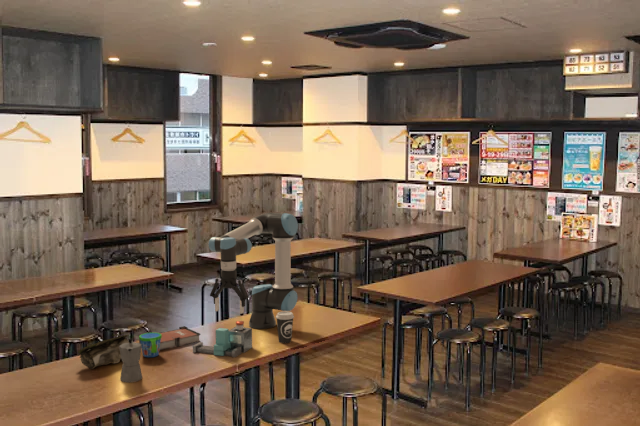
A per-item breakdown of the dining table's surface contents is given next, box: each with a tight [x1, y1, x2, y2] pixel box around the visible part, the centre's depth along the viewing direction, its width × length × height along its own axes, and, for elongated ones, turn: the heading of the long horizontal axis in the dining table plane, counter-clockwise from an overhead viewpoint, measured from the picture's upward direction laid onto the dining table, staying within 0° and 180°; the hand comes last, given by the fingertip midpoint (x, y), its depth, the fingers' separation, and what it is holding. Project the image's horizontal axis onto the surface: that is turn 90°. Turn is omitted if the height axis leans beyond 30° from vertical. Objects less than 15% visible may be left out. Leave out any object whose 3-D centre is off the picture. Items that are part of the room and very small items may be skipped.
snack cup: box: [138, 332, 162, 358], centre depth 315 cm, size 16×10×10 cm
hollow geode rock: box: [76, 334, 130, 370], centre depth 302 cm, size 28×13×15 cm
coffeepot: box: [119, 338, 143, 384], centre depth 283 cm, size 15×9×18 cm, turn 13°
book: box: [138, 325, 201, 351], centre depth 336 cm, size 26×18×5 cm
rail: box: [192, 341, 242, 358], centre depth 320 cm, size 7×23×3 cm, turn 70°
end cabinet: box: [229, 326, 253, 354], centre depth 325 cm, size 9×9×10 cm
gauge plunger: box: [235, 320, 245, 331], centre depth 324 cm, size 4×4×6 cm
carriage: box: [213, 327, 231, 357], centre depth 318 cm, size 8×5×12 cm, turn 160°
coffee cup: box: [275, 311, 295, 344], centre depth 338 cm, size 10×10×15 cm
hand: (229, 311), depth 320 cm, fingers open, 13 cm apart
